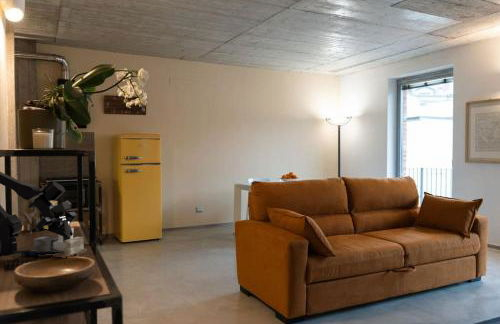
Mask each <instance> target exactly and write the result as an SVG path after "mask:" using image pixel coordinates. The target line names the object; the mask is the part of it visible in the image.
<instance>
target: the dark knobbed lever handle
mask: <svg viewBox="0 0 500 324" xmlns="http://www.w3.org/2000/svg"><path fill="white" fill-rule="evenodd" d="M70 227H71V223H70V221H63V229H64V230H65V232H66V233H67V235H68V236H67V237H63V241H61V240H53V241H51V249H61V250H64V241H65V240H68V239H70Z"/></svg>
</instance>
